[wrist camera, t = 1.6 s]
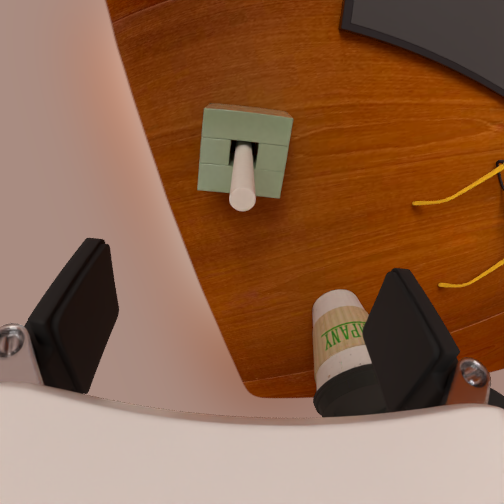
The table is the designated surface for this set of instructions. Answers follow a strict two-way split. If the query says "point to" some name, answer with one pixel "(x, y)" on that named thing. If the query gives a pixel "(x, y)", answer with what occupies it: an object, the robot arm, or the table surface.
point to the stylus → (243, 178)
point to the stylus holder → (244, 129)
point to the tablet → (437, 32)
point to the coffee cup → (343, 358)
